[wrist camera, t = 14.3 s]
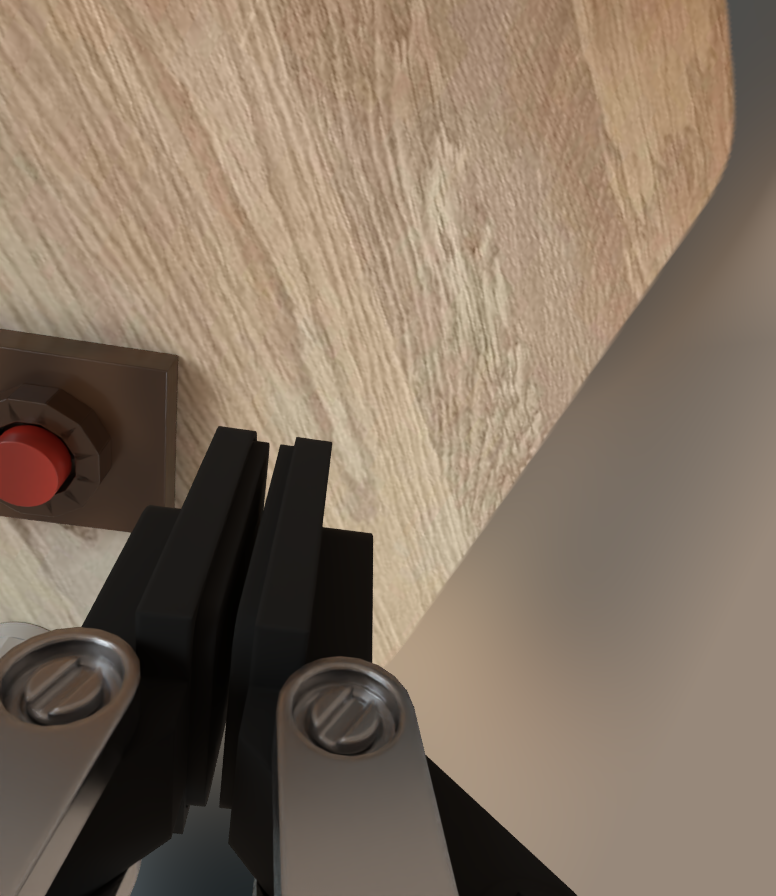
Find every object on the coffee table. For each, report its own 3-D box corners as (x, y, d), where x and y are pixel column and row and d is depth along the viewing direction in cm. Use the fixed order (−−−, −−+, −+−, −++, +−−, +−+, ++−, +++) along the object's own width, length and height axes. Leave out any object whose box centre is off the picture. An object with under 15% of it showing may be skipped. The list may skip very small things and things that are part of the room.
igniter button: (70, 430, 34) (55, 447, 32) (73, 492, 35) (60, 511, 34) (-7, 419, 33) (-26, 436, 32) (0, 483, 35) (-18, 502, 33)
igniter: (178, 354, 36) (157, 385, 32) (174, 514, 40) (155, 557, 37) (-66, 318, 35) (-116, 346, 31) (-41, 487, 39) (-82, 528, 36)
